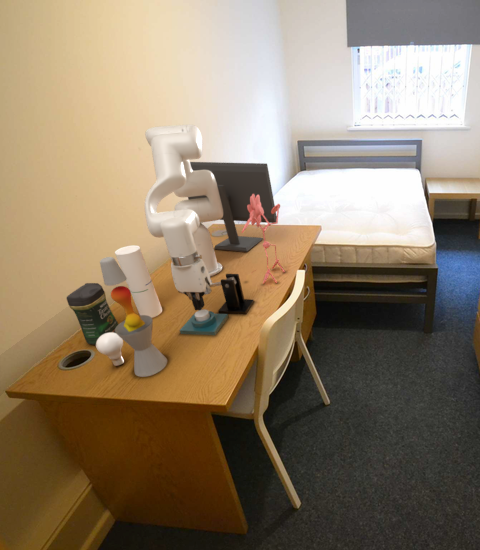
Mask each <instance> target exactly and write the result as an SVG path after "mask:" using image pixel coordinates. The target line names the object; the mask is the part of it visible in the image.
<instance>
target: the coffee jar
mask: <svg viewBox="0 0 480 550" xmlns="http://www.w3.org/2000/svg"><path fill="white" fill-rule="evenodd" d="M66 301H67V304H68V307H69V308H70V309H71V310H72V311H73V313H74V314H75V316H76V319H77V322H78V323H79V326H80V328H81V332H82V334H83V337H84V340H85V342H86V344H88V345H91V346H96V342H97V340H98V338H99V337H100V336H101V335H103V334H105V333H109V332H113V333H116V332H115V328H116V327H117V326H118V324H119V322H118V320H117V319H116V317H115V315H114V313H113V311H112V309H111V307H110V306H109V303H108V301H107V297H106V292H105V290H104V288H103V286H102V285H101V284H100V283H98V282H86V283H84V284H83V285H81V286H80V287H78V288H76V289H75V290H74V291H72V292H71V293H70V294H68V295H67V296H66Z"/></svg>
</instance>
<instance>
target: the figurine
mask: <svg viewBox="0 0 480 550" xmlns="http://www.w3.org/2000/svg"><path fill="white" fill-rule="evenodd" d="M250 204H251V205H247V209H248V211H249V213H250V218H249V220H248V221H246V223H245V224H244V226H243V228H242V230H241V234H243V233H244V232H245V231H246V229H247V228H248V227H249V225H250V224H251V226H254V225H255V224H256V227H257V228H260V229H261V231H262V236H263V237H262V238H263V243H262V247H263V248H264V251H265V252H264V253H265V255H266V266H267V270H266V272H265V275H264V277H263V280H262V284H263V285H264V284H265V283H266V282H267V280H268V279H269V276H270V277H271V278H272V280H273V281H274V282H275V284H277V283H278V282H277V280H276V278H275V277H274V276H273V274H272V273H271V269H272V270H274V269H275V267H276V266H277V265H278V267H280V269H281V271H282V272H283V273H285V272H286V271H285V269H284V268H283V267H282V265H281V264H280V262H279V261H280V259H279V258H278V259H277V256H275V262H273V265H272V266H271V269H270V268H269V256H268V252H267V249H269V248H270V246H273V247H274V252H275V253H274V254H275V255H277V245H276V244H270V242H269V241H266V235H265V232H266V230H267V229H268V227H269V226H271V225H277V224H278V223H279V213H280V209H281V204H280V203H277V204H276V205H275V207H274V208H273V209H272V210H271V213H272V214H274V213H275V212H276V216H277V220H276V223H269V222H268V221H267V219H266V218H265V216H264V215H263V214H264V210H263V208H262V207H261V203H260V196H259V195H257V196H256V198H255V195H254V194H252V196H251V197H250ZM261 215H262V216H263V217H264V219H265V220H266V222H267V224H266V225H265V226H264V227H263V226H262V224H261V223H262V222H261ZM277 222H278V223H277ZM256 271H257V269H256V270H253V271H252V273H254V272H256Z"/></svg>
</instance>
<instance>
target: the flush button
mask: <svg viewBox="0 0 480 550" xmlns="http://www.w3.org/2000/svg"><path fill="white" fill-rule="evenodd" d="M209 311H210V310H208V309H205V308H204V309H203V308H202V309H201V310H196V311H195V312H194V313H195V318H196V321H198V322H202V321H205V320H207V319H209V318H210V314H209Z"/></svg>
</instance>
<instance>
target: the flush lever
mask: <svg viewBox="0 0 480 550" xmlns="http://www.w3.org/2000/svg"><path fill="white" fill-rule="evenodd" d="M227 279H229V280H234V283H235V284H236V283H237V282H236V280H235V277H230V278H227ZM211 282H212V285H211V286H209V287H210V288H214V287H220V286H222V285H221V281H216V282H213V280H212V279H211Z"/></svg>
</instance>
